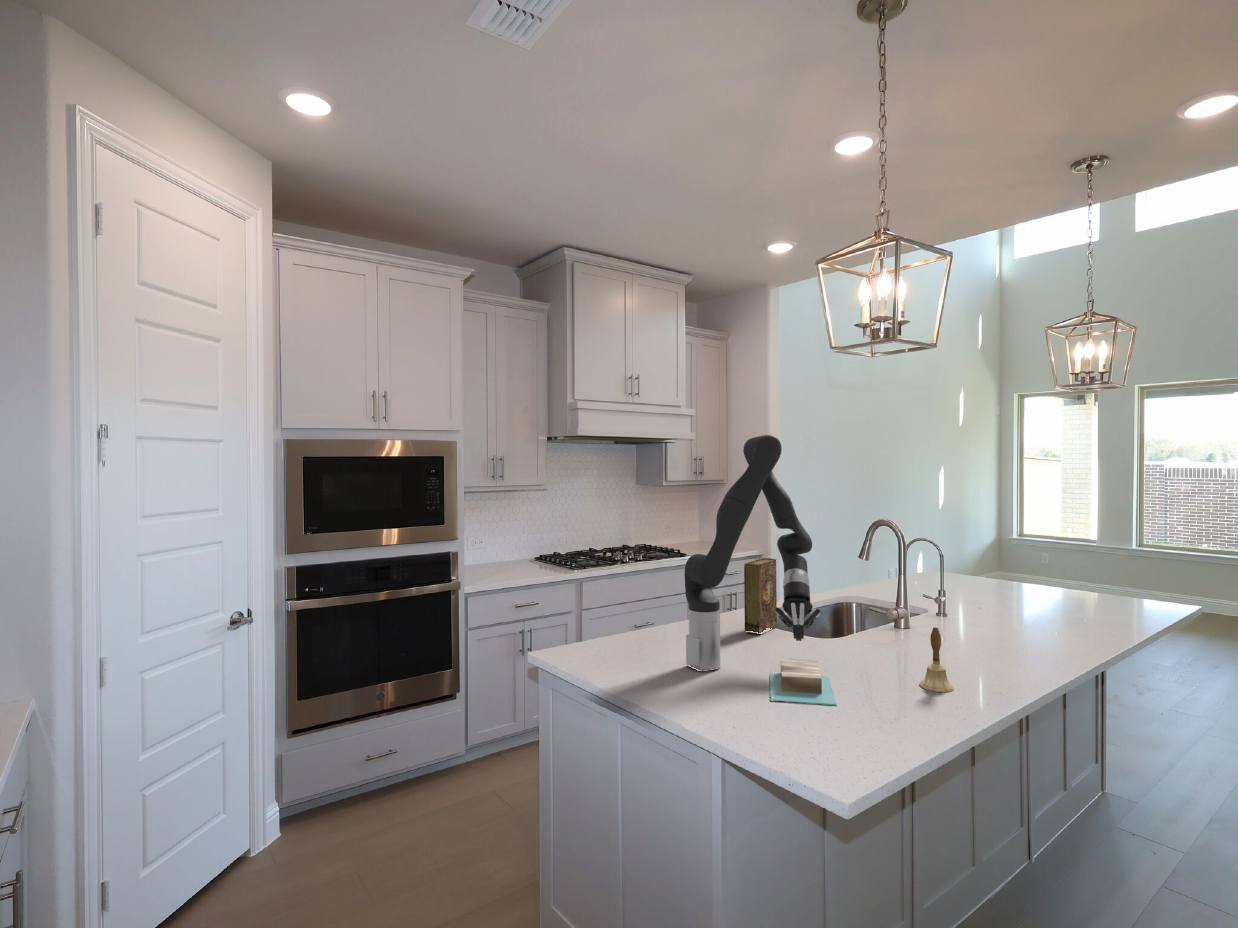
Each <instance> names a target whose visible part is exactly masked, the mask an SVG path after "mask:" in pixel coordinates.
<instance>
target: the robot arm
mask: <svg viewBox="0 0 1238 928" xmlns="http://www.w3.org/2000/svg"><path fill="white" fill-rule="evenodd" d="M742 451H743V456H744V459H745V461H746V463H747V464H748V466H747V468H746V469H745V471H744V472H743V474H742V475H741V476H740V477H739V478H738V479H737V480H736V481H735V483H733V485H732V486H731V487H729V489H728V490H727V492H726V493H725V495H724V497H723V499H722V501H721V504H720V505H719V507H718V510H717V511H716V512H717V513H716V518H715V527H716V528H715V531H716V532H715V537H714V540H713V543H712V545H711V547H710V549H709V551H708V552H707V554H702V553H695V554H694V553H693V555H691V556H690V557H689V558H688V559H687V561H686V563H685V565H684V588H685V591H684V592H685V598H686V601H687V604H688V634H686V635H685V648H686V649H685V655H686V657H685V658H686V659H685V661H686V663H685V665H686V664H687V665H690V666H691V667H694V668H696V669H698V670H711V669H716V668H719V667H720V668H721V607H720V606H721V604H720V600H719V598H718V597H717V596H716V595H715V593H714V591H713V588H716V587H717V586H719V585H720V584H721V583H722V581H723V580H724V578H725V575H726V573H727V571H728V567H729V564H730V561H731V559H732V556H733V553H734V550H735V549H736V546H737V543H738V541H739V539H740V538H741V537H740V536H741V534H742V532H743V530H744V527H745V526H746V523H747V522H748V519H749V518H750V517H751V514H752V511H753V509H754V506H755V504H756V503H757V500H758V498H759V496H760V495H761V492H762V493H763V494H764V497H765V499H766V502H767V505H768V507H769V510H770V512H771V515H772V518H773V521H774V524H775V526H776V528H778V529H781V530H785V529H786V530H791V531H792V532H790V533H787V534H783V535H781V536H779V538H778V539H777V541H776V545H777V548H778V552H779V553H780V556H781V559H782V563H783V580H782V581H783V583H782V584H783V585H782V587H783V588H782V589H783V603H782V606H780V607H777V608H776V615H777V617H778V618H779V620H780V621H781V623H783V624H784V625H785V626H786V627H787V628H792V633H793V635H792V636H793V639H795V641H797V642H798V641H799V642H802V640H803V639H804V638H805V629H810V627H812V625H813V624H814V623H815V622H816V621H817V620H818V619H819V617H820V616H821V615H820V614H821V610H820V609H819V608H815V607H813V604H812V602H811V589H810V588H811V587H810V579H809V573H808V561H807V559H806V558H805V557H804V556H802V555H803V554H808V553H810V552H811V551H812V549H813V541H812V538H811V536H810V534H809V533H808V532H807V530H806V529H805V527H804V526H803V525H802V523H801V522H800V520H799V517H798V516H797V513H796V511H795V507H794V505H793V502H792V500H791V498H790V496H789V494H788V493H787V491H786V490H785V488H784V487H783V486H782V484H780V482H779V481H778V479H777V477H776V475H774V472H773V470H774V468H775V466H776V465H777V463H778V461H779V460H780V458H781V456H782V455H781V454H782V443H781V440H780V438H778V437H777V436H775V435H772V434H765V435H764V434H762V435H758V436H754V437H751V438H748V439H747V440H746V442H745V443H744V445H743V450H742ZM809 614H810V615H809ZM787 615H788V616H787ZM808 616H809V617H808ZM789 617H790V618H791V619H790V618H789ZM807 617H808V618H807ZM806 618H807V619H806ZM798 619H799V620H798ZM805 619H806V620H805Z"/></svg>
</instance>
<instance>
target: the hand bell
mask: <svg viewBox="0 0 1238 928" xmlns="http://www.w3.org/2000/svg"><path fill="white" fill-rule="evenodd" d="M941 645H942V637H941V632H940V630H939V628H938V627H936V626H935V627H932V631H931V633H930V646H931V649H932V664H928V665H927V667H926V672H925V676H924V678H923V680H921V681H920V682H919V687H920V688H922V689H924V690H926V691H930V692H934V693H935V692H936V693H951V692H953V691H954V689H955V688H954V686H953V685H952V684H951V683H950V681H949V679H948V676H947V669H946V667H945V666H943V665H941V659H940V650H941ZM950 691H951V692H950Z"/></svg>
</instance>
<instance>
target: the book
mask: <svg viewBox="0 0 1238 928" xmlns="http://www.w3.org/2000/svg"><path fill="white" fill-rule="evenodd" d="M743 573H744V578H743V581H744V583H743V586H744V587H743V588H744V589H743V591H744V593H743V594H744V595H743V596H744V632H745V631H753V632H758V633H761V632H763V631H764V630H766V628H770V629H771V628H772V630H774V629H776V628H778V621H777V620H778V618H777V617H778V616H777V615H776V608H778V607H777V605H778V604H777V602H778V601H777V595H778V594H777V593H778V592H777V559H776V558H770V557H769V558H767V557H766V558H765V557H763V558H759V559H756V560H751V561H748V562H744V566H743Z"/></svg>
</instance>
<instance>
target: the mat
mask: <svg viewBox="0 0 1238 928" xmlns="http://www.w3.org/2000/svg"><path fill="white" fill-rule="evenodd" d="M771 673H772V674H770V673H769V690H770V691H769V693H770V694H769V695H770V696H769V697H771V698H770V700H773V701H772V702H774V701H786V702H785V703H788V702H800V703H799V704H803V703H806V704H805V705H807V704H808V705H818V704H822V706H836V707H837V706H838V705H837V701H836V700H837V699H836V697H835V693H834V691H833V687H832V683H831V681H830V676H829V675H821V678H822V694H819V693H803V692H787V691H782V683H781V672H771ZM773 673H774V674H773ZM771 691H772V692H771ZM772 697H774V698H772Z"/></svg>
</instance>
